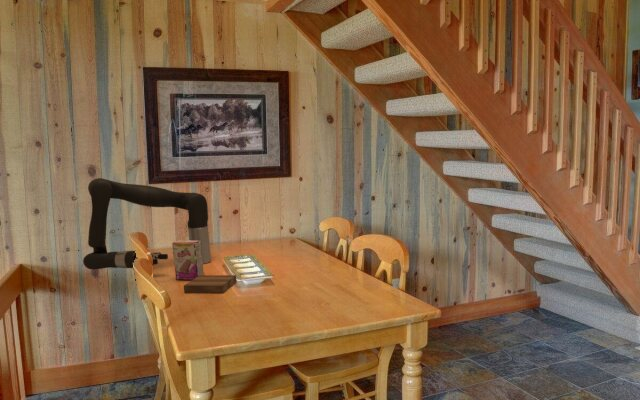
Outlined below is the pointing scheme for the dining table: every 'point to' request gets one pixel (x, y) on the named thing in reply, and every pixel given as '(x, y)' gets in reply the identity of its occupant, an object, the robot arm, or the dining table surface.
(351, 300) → the dining table surface
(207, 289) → the walnut base
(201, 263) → the candy bar box
